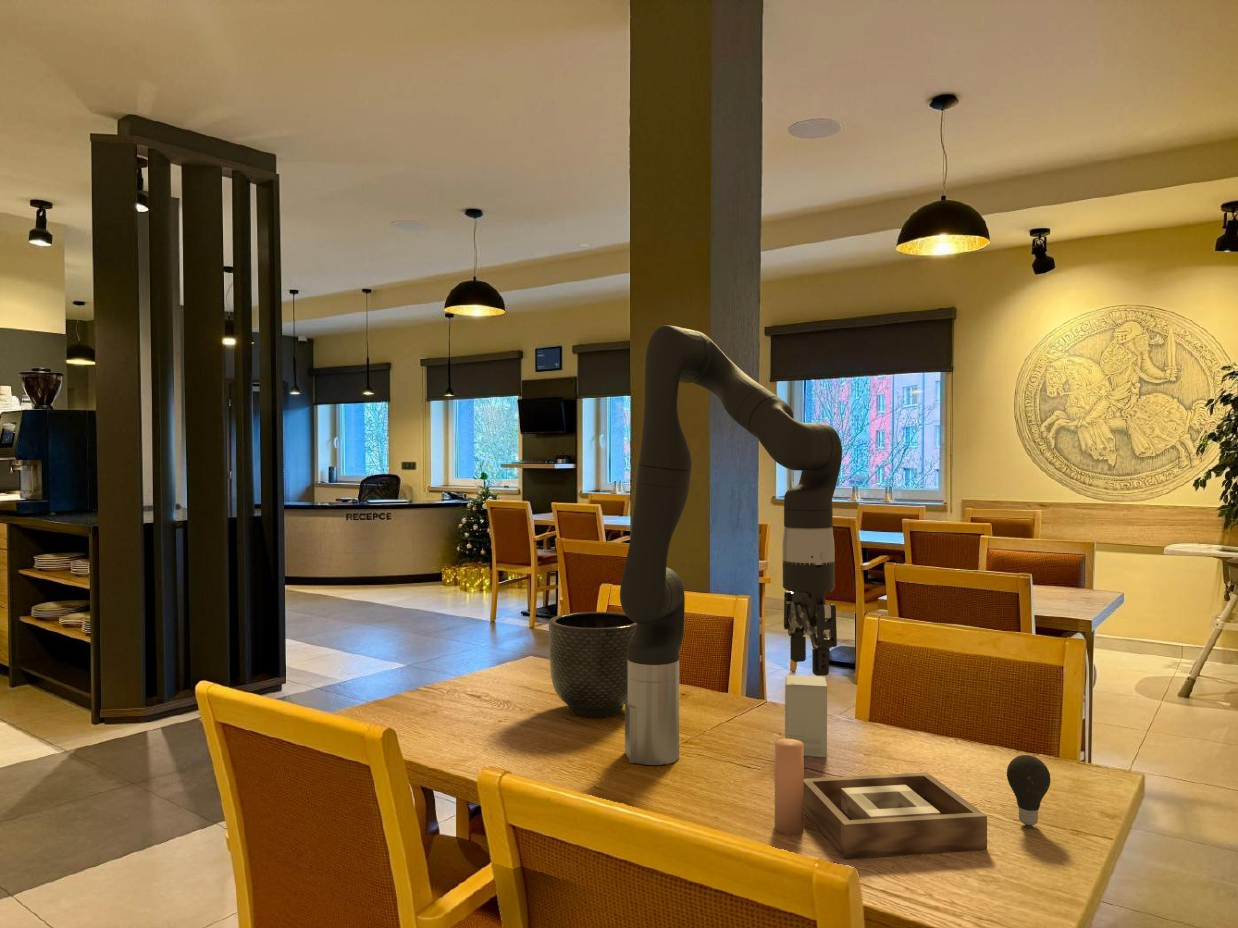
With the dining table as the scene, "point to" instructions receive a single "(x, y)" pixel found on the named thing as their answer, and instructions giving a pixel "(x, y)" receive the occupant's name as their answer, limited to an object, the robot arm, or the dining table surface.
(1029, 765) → the light bulb
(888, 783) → the box
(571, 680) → the planter
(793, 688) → the supplement box
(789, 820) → the peg
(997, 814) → the dining table surface
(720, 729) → the dining table surface
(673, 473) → the robot arm
